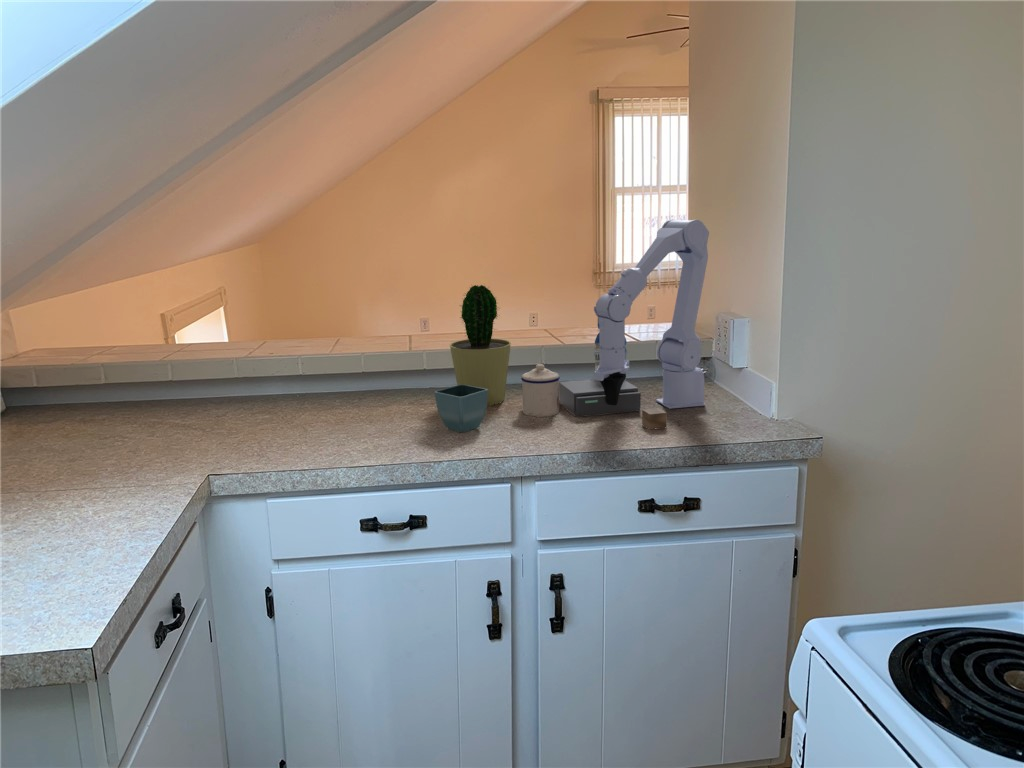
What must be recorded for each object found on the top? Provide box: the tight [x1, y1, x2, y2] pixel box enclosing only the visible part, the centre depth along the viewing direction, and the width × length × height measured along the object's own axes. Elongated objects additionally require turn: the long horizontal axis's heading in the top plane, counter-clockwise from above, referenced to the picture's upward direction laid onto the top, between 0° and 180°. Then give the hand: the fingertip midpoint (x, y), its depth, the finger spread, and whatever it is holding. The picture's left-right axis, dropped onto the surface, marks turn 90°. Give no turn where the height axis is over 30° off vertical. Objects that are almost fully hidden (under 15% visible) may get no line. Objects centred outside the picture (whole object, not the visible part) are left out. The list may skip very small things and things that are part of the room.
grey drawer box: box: [559, 378, 639, 417], centre depth 181 cm, size 16×13×5 cm
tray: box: [575, 391, 642, 418], centre depth 179 cm, size 16×12×4 cm
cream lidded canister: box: [520, 363, 561, 418], centre depth 178 cm, size 12×9×12 cm
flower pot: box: [433, 384, 488, 434], centre depth 165 cm, size 9×9×9 cm
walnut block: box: [641, 407, 668, 430], centre depth 164 cm, size 4×4×4 cm
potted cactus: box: [449, 284, 512, 407], centre depth 186 cm, size 15×15×30 cm
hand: (612, 404), depth 173 cm, fingers closed, pressing on tray
